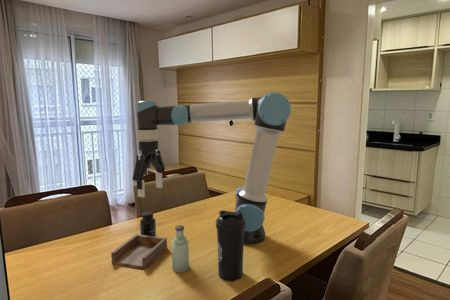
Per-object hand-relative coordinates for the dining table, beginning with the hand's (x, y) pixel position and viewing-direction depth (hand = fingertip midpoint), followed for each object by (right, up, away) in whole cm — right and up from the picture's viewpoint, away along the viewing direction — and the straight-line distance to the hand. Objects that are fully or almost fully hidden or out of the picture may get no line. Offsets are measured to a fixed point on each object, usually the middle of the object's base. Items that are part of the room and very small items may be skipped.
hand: (150, 192), depth 122 cm
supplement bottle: (-4, -23, +13) cm, 26 cm away
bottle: (+14, -26, -12) cm, 32 cm away
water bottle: (+32, -27, -16) cm, 45 cm away
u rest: (-3, -25, -3) cm, 25 cm away
